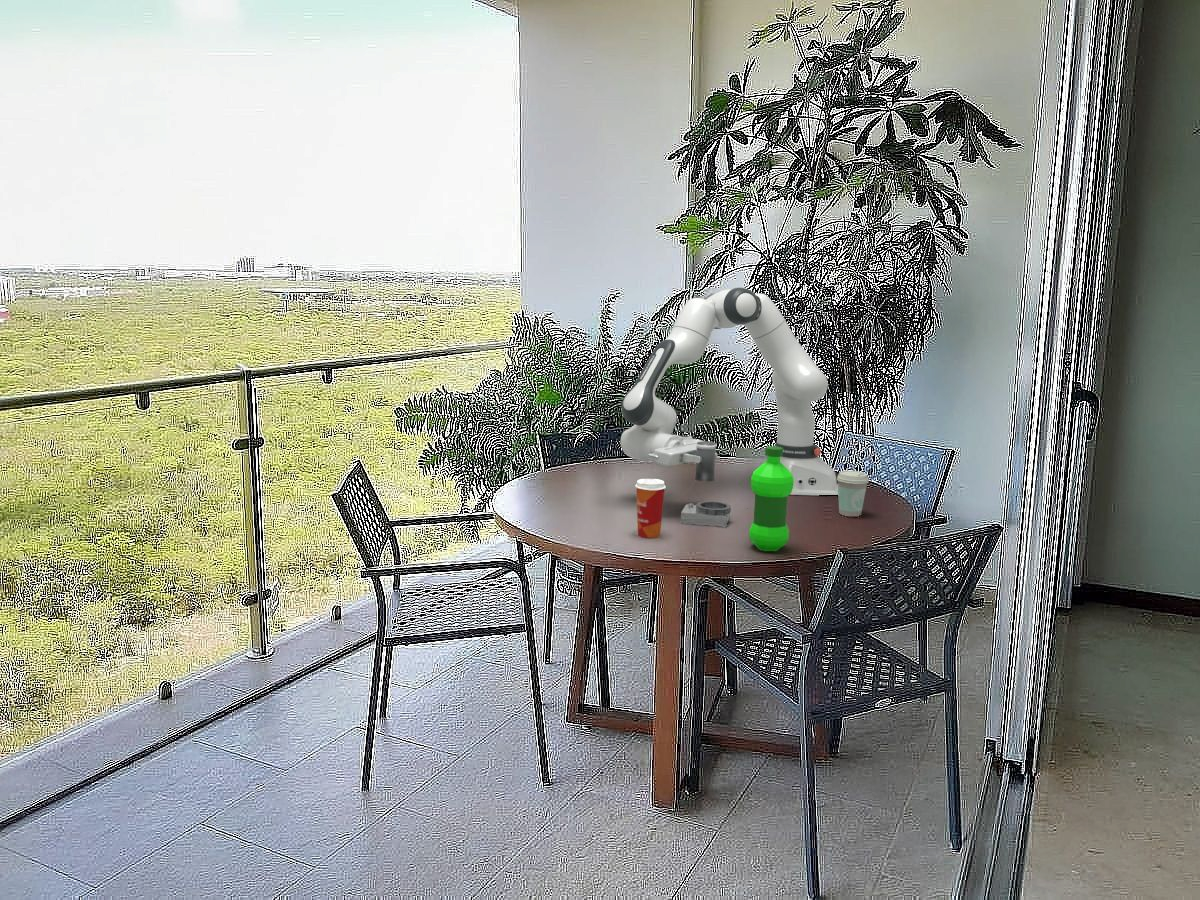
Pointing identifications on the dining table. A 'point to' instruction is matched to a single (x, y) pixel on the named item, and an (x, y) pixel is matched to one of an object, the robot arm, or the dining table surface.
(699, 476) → the lens
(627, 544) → the dining table surface
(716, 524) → the camera body
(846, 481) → the coffee cup
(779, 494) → the plastic bottle
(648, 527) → the paper cup
